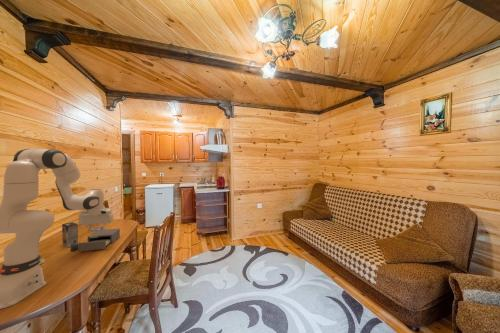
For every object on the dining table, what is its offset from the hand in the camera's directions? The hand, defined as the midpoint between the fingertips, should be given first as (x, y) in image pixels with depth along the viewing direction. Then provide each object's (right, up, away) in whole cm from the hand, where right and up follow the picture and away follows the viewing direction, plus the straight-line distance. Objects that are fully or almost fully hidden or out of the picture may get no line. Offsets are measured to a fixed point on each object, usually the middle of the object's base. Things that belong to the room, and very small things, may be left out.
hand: (96, 229), depth 138 cm
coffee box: (-23, -13, +4) cm, 27 cm away
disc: (0, 0, 0) cm, 0 cm away
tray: (0, -12, +1) cm, 12 cm away
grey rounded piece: (-12, -13, -4) cm, 19 cm away
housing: (-3, -13, +12) cm, 18 cm away
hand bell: (-20, -14, -22) cm, 33 cm away
